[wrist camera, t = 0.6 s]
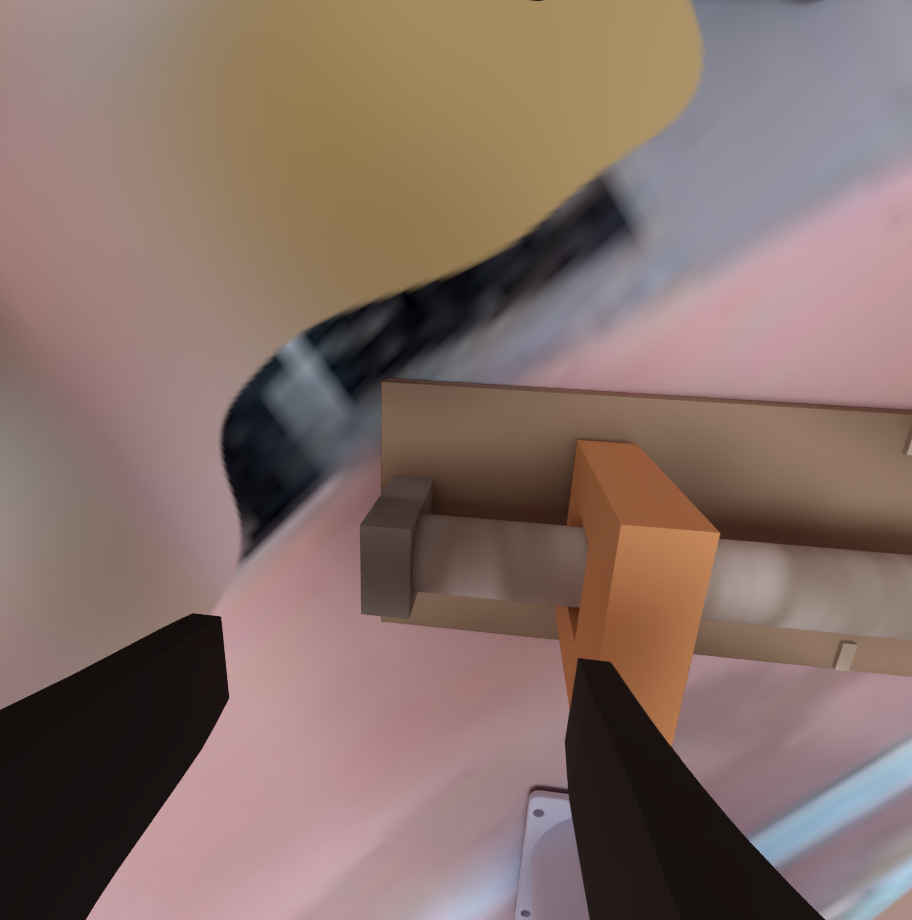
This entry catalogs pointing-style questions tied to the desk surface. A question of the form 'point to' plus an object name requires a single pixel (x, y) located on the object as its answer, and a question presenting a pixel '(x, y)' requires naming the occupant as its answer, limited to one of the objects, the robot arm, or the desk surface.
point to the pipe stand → (694, 473)
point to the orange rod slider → (637, 576)
